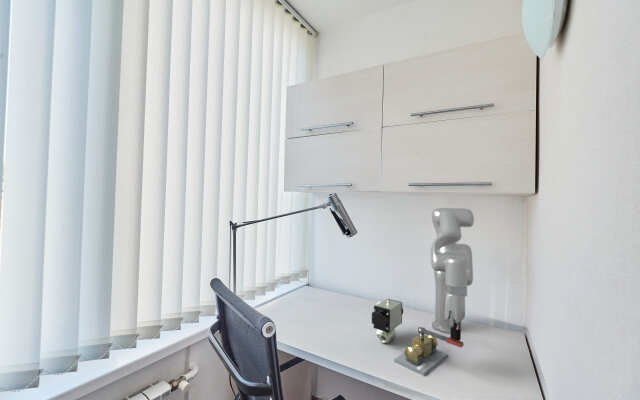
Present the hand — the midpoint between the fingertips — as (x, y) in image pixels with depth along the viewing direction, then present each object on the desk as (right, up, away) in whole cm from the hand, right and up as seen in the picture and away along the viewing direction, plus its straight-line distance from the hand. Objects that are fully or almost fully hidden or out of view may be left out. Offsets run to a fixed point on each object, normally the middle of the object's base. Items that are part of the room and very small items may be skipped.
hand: (455, 339), depth 104 cm
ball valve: (-22, -10, +19) cm, 30 cm away
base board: (-12, -10, +4) cm, 16 cm away
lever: (-7, +1, -1) cm, 7 cm away
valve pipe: (-12, -10, +4) cm, 16 cm away
